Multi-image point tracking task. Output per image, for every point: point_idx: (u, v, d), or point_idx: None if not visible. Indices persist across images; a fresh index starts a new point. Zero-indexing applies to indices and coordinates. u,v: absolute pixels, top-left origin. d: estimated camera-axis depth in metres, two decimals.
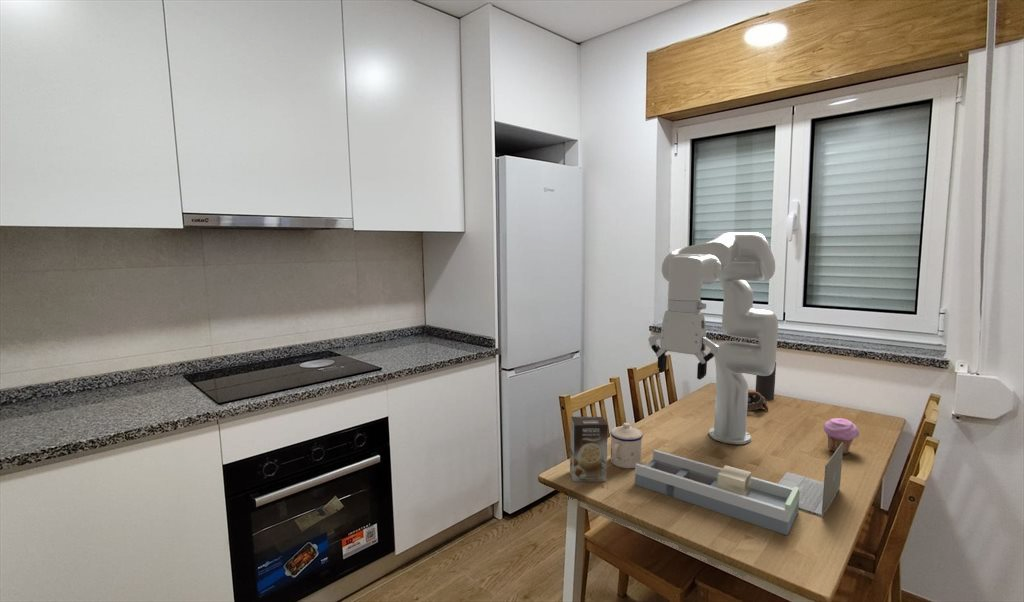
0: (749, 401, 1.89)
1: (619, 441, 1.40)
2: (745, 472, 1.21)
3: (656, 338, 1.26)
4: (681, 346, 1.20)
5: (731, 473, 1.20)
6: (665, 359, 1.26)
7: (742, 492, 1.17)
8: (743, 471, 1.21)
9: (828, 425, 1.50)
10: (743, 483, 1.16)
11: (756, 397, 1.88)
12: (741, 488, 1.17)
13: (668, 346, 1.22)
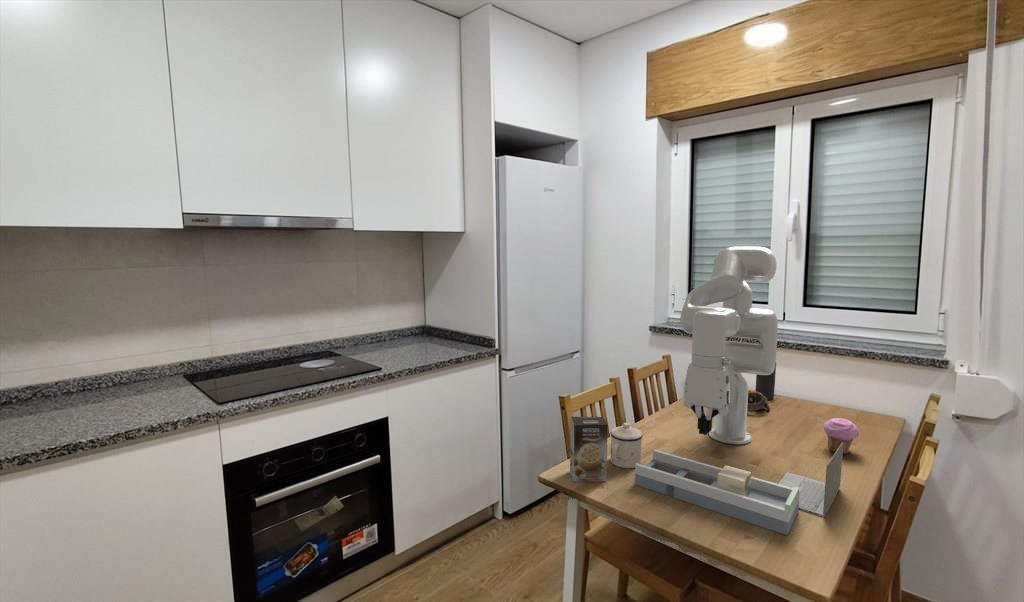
0: (751, 401, 1.89)
1: (619, 441, 1.40)
2: (745, 472, 1.21)
3: None
4: (705, 401, 1.20)
5: (731, 473, 1.20)
6: None
7: (742, 492, 1.17)
8: (743, 471, 1.21)
9: (828, 425, 1.50)
10: (743, 483, 1.16)
11: (758, 397, 1.88)
12: (741, 488, 1.17)
13: (692, 400, 1.23)
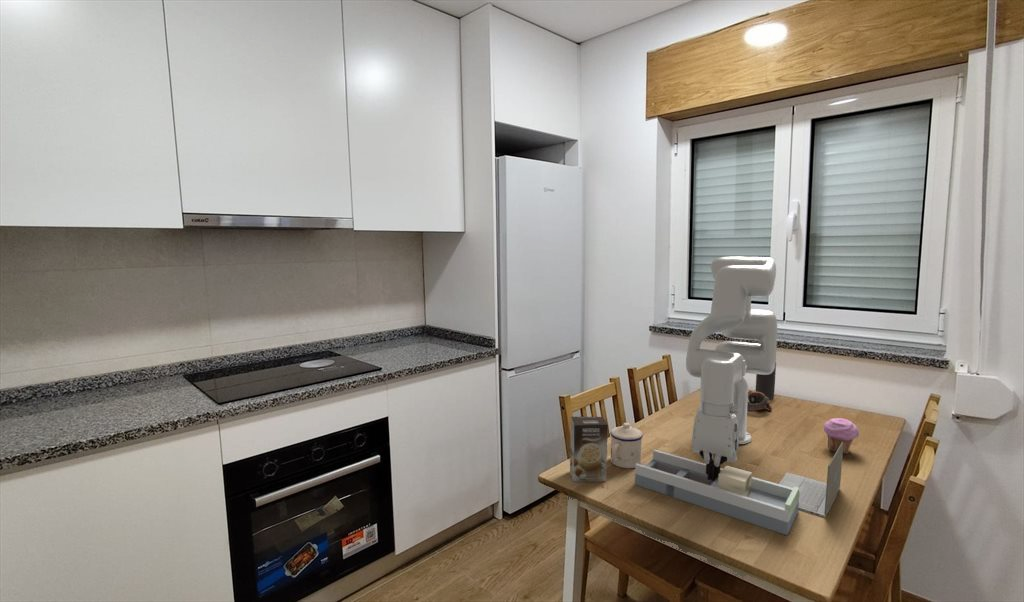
0: (752, 401, 1.89)
1: (619, 441, 1.40)
2: (746, 472, 1.20)
3: None
4: (713, 448, 1.21)
5: (732, 474, 1.20)
6: None
7: (743, 492, 1.17)
8: (744, 471, 1.21)
9: (828, 425, 1.50)
10: (744, 483, 1.16)
11: (759, 397, 1.87)
12: (742, 488, 1.17)
13: (700, 446, 1.23)
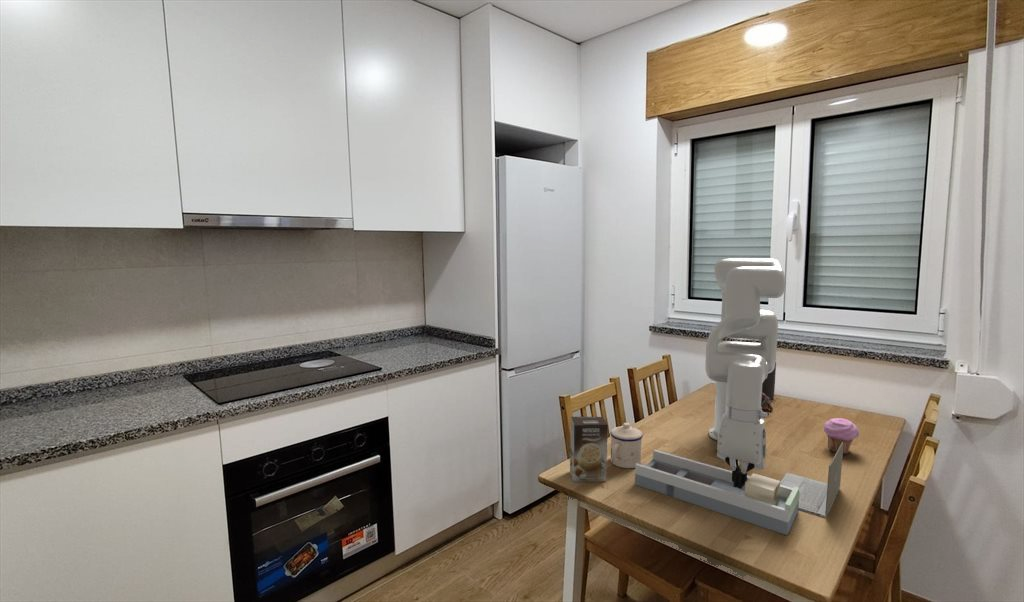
0: None
1: (619, 441, 1.40)
2: (774, 481, 1.16)
3: None
4: (740, 454, 1.17)
5: (759, 482, 1.16)
6: None
7: (771, 502, 1.12)
8: (772, 480, 1.17)
9: (828, 425, 1.50)
10: (772, 492, 1.12)
11: None
12: (770, 497, 1.12)
13: (726, 452, 1.19)
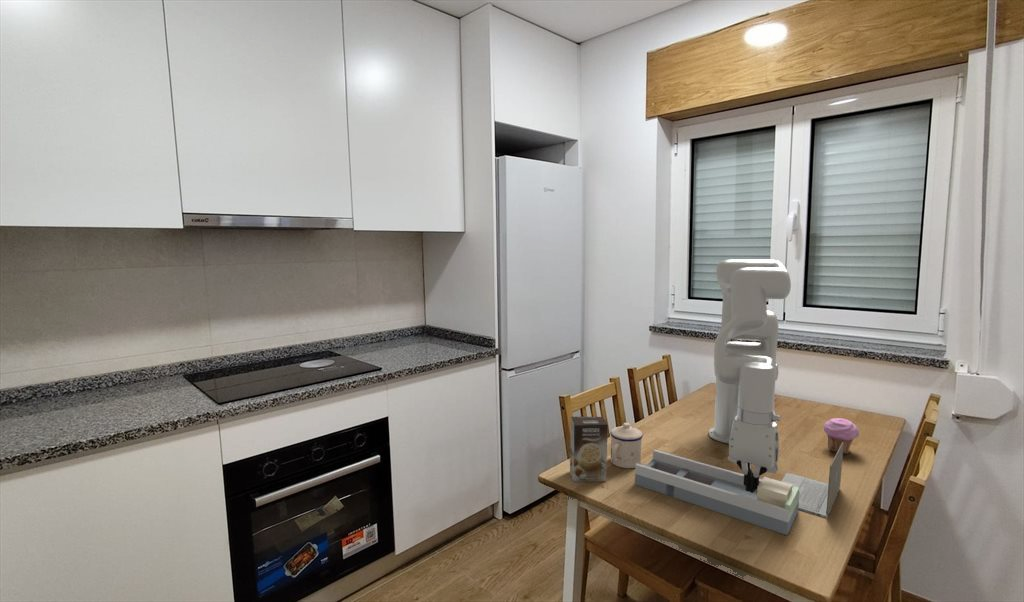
0: None
1: (619, 441, 1.40)
2: (786, 484, 1.14)
3: None
4: (753, 458, 1.15)
5: (771, 486, 1.14)
6: None
7: (784, 506, 1.10)
8: (784, 483, 1.15)
9: (828, 425, 1.50)
10: (785, 497, 1.10)
11: None
12: (783, 502, 1.11)
13: (738, 456, 1.17)
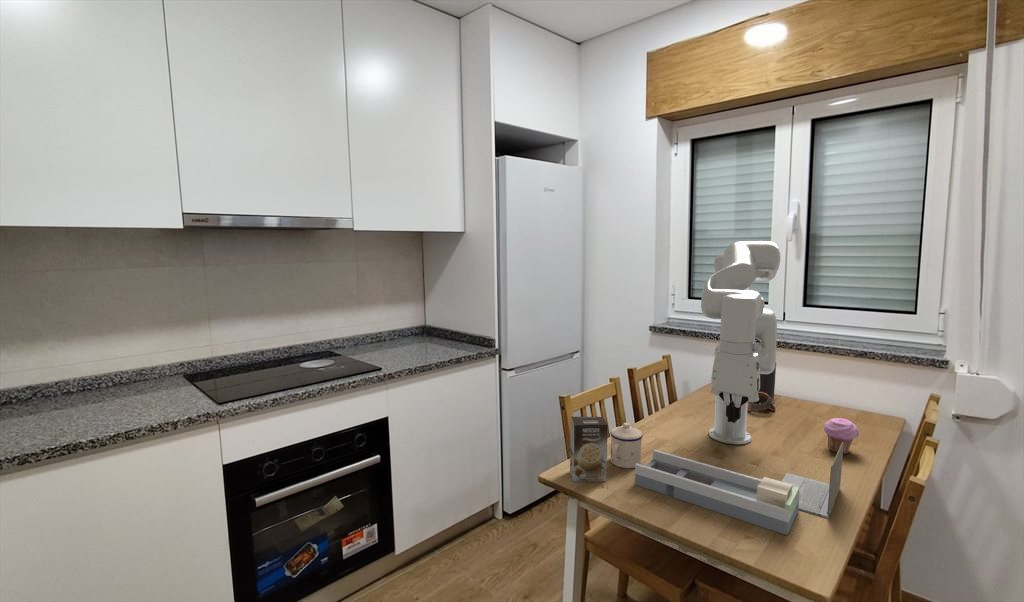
0: (756, 402, 1.89)
1: (619, 441, 1.40)
2: (786, 484, 1.14)
3: None
4: (734, 388, 1.16)
5: (771, 486, 1.14)
6: None
7: (784, 506, 1.11)
8: (784, 483, 1.15)
9: (828, 425, 1.50)
10: (785, 496, 1.10)
11: (763, 397, 1.87)
12: (783, 502, 1.11)
13: (720, 387, 1.19)
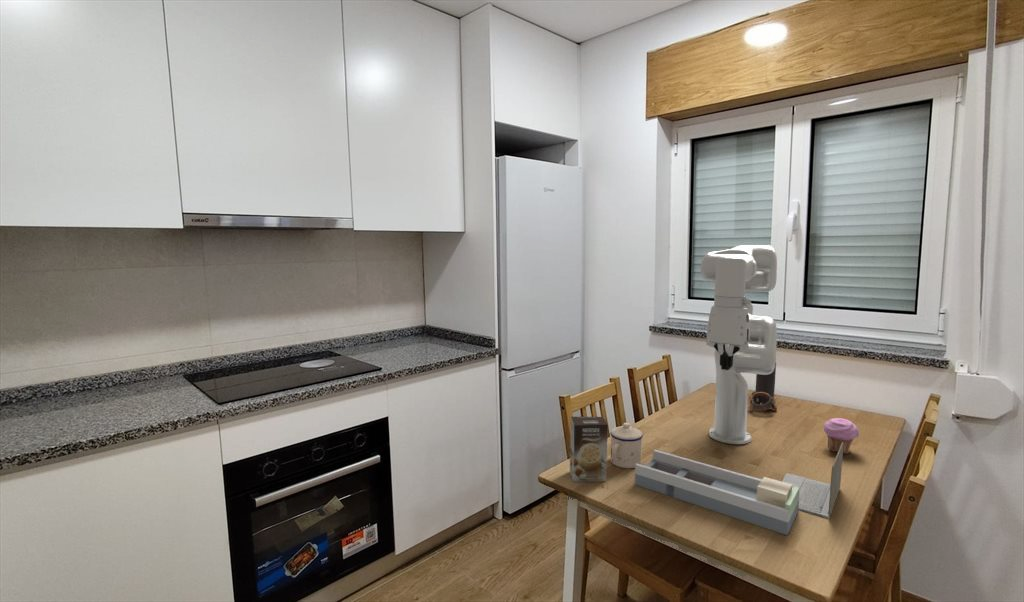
0: (757, 402, 1.88)
1: (619, 441, 1.40)
2: (786, 484, 1.14)
3: None
4: (727, 338, 1.32)
5: (771, 486, 1.14)
6: None
7: (784, 506, 1.11)
8: (784, 483, 1.15)
9: (828, 425, 1.50)
10: (785, 496, 1.10)
11: (764, 397, 1.87)
12: (783, 502, 1.11)
13: (714, 338, 1.35)
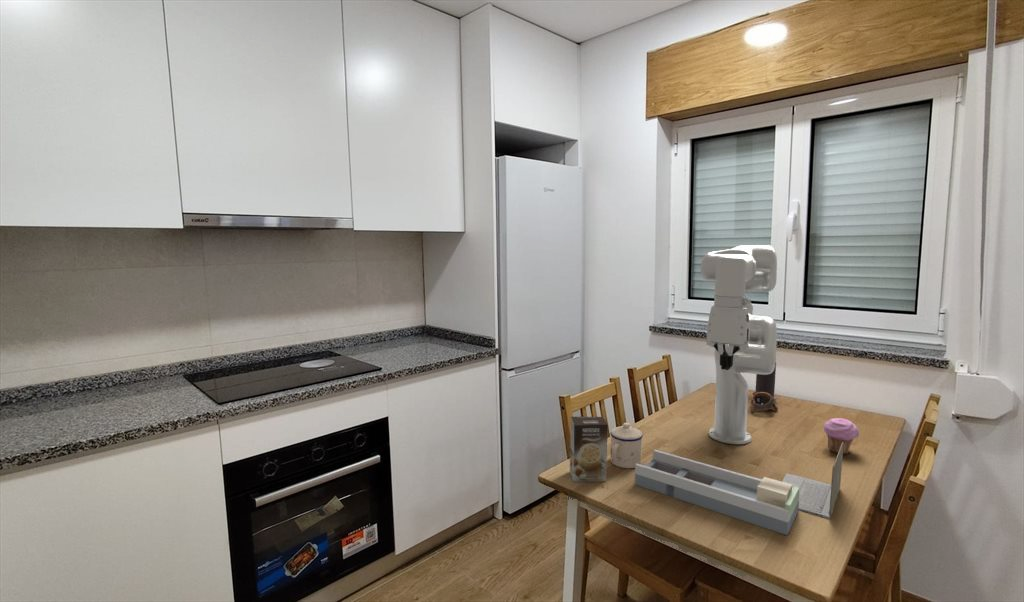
0: (758, 402, 1.88)
1: (619, 441, 1.40)
2: (786, 484, 1.14)
3: None
4: (727, 338, 1.32)
5: (771, 486, 1.14)
6: None
7: (784, 506, 1.11)
8: (784, 483, 1.15)
9: (828, 425, 1.50)
10: (785, 496, 1.10)
11: (765, 398, 1.87)
12: (783, 502, 1.11)
13: (714, 338, 1.35)
